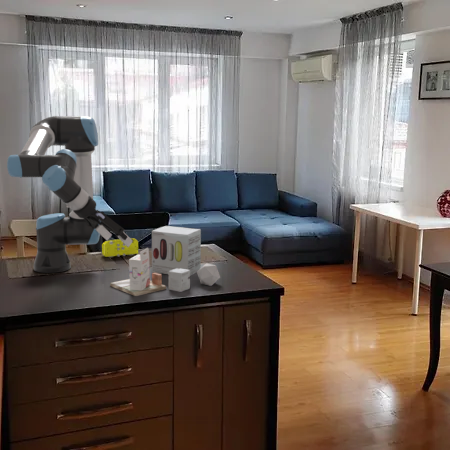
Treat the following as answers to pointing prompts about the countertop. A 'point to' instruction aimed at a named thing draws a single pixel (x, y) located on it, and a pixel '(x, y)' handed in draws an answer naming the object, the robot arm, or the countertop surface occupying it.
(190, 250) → the supplement box
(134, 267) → the ink cartridge box
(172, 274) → the skincare box
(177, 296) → the countertop surface
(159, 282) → the docking board
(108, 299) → the countertop surface
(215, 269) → the die
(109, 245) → the yellow toy chassis
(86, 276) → the countertop surface
